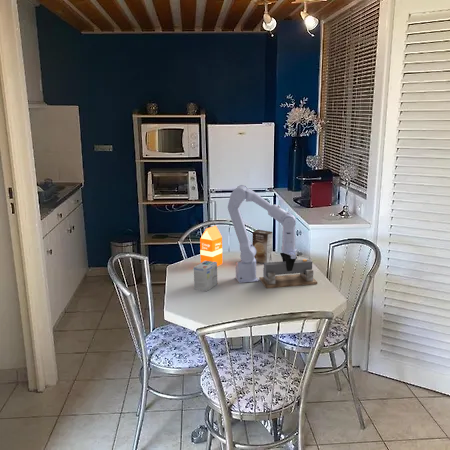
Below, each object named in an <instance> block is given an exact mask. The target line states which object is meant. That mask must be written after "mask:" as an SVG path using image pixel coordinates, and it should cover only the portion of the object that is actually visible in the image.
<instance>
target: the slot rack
mask: <svg viewBox="0 0 450 450" xmlns="http://www.w3.org/2000/svg"><path fill="white" fill-rule="evenodd" d="M262 271H263V274H262V276H260V277H259V278H258V280H259V281H260V282H261V283H262V285H263V286H264V287H265V288H266V289H273V288H285V287H296V286H297V287H298V286H308V285H318V280H316V279H315V278H314V269H313V268H312V269H309V270H306V273H294V274H282V275H275V273H274V272H270V273H268V276H266V275H265V274H264V267H263V269H262Z"/></svg>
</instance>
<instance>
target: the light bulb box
mask: <svg viewBox="0 0 450 450" xmlns="http://www.w3.org/2000/svg"><path fill="white" fill-rule="evenodd" d="M193 283H194V284H193V285H194V286H193V287H194V288H193V289H194V290H195V291H203V292H208V291H209V290H211V289H213V288H214V287H215V286H217V285H218V266H217V262H213V261H203V262H202V263H201V262H200V263H198V264H197V265H195V266H193Z"/></svg>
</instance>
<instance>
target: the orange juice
mask: <svg viewBox="0 0 450 450" xmlns="http://www.w3.org/2000/svg"><path fill="white" fill-rule="evenodd" d="M199 244H200V245H199V247H200V250H199V252H200V254H199V255H200V263H202V262H203V261H213V262H217V267H219V266H221V265H223V236H222V234H221V232H220V230H219V228H218V227H217V225H214V226H210V227H207V228H205V230H204V232H203V233H202V235H201V237H200V238H199Z"/></svg>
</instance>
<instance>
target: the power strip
mask: <svg viewBox="0 0 450 450" xmlns="http://www.w3.org/2000/svg"><path fill="white" fill-rule="evenodd" d="M263 268H264V274H265V275H266V276H268V273H270V272H274V273H275V276H283V275H295V274H300V273H306V270H309V269H312V270H313V261H312V260H311V259H307V258H306V259H304V258H303V259H300V260H299V259H296V260H295V262H294V265H293V269H292V271H287V267H286V261H283V260H282V261H271V262H268V263H263Z"/></svg>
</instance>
